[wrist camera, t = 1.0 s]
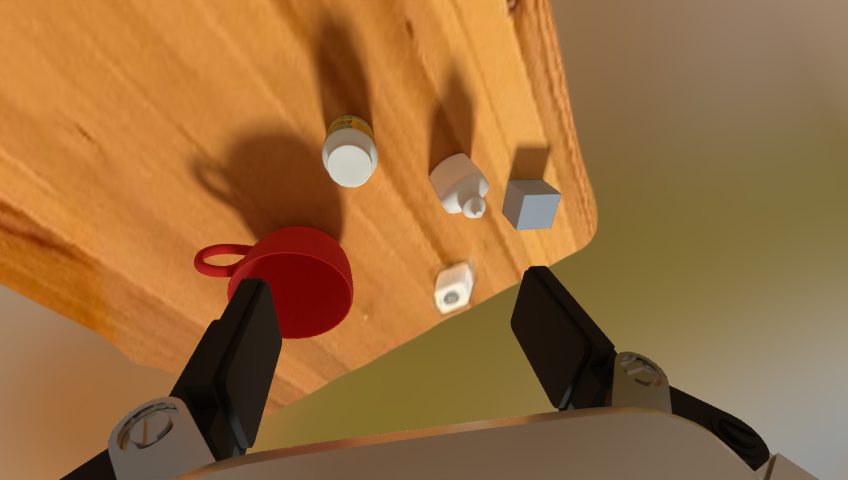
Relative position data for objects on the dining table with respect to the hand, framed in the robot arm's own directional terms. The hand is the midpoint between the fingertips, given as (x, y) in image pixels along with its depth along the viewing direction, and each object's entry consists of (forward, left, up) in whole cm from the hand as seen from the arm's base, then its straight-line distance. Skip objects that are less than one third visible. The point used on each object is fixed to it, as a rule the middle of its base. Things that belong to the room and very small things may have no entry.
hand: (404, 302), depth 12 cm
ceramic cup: (+16, -12, -29) cm, 35 cm away
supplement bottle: (+2, -3, -29) cm, 29 cm away
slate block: (+10, +20, -29) cm, 37 cm away
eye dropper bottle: (+6, +9, -29) cm, 31 cm away
